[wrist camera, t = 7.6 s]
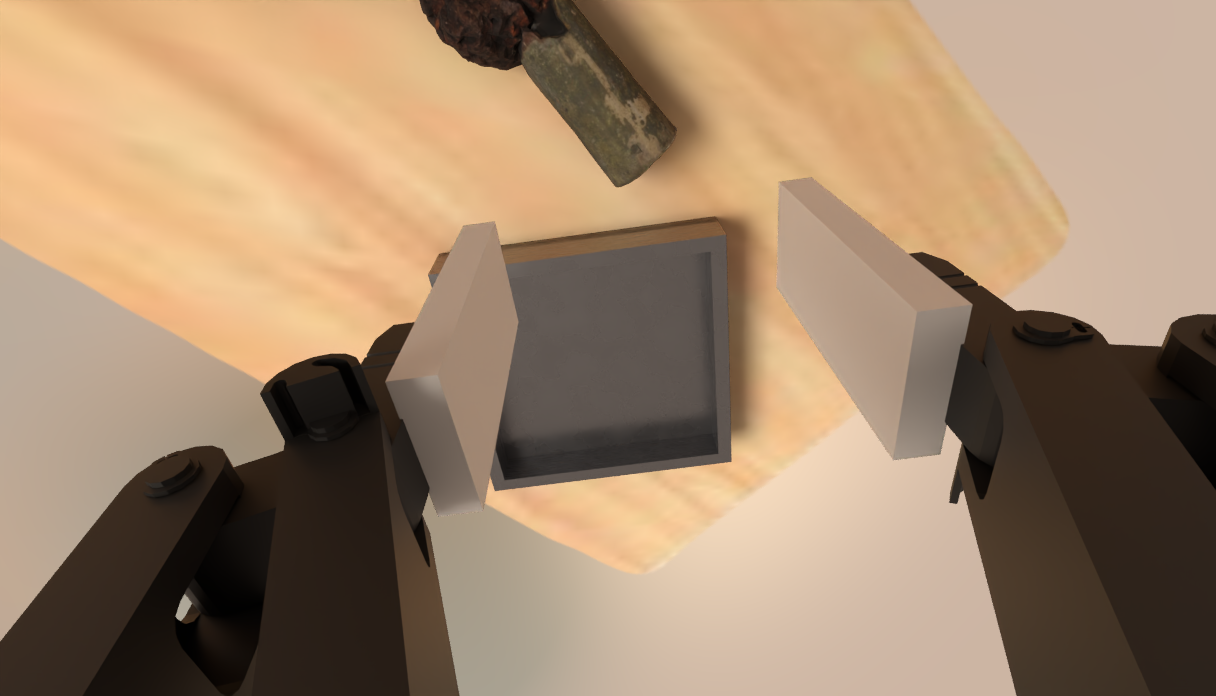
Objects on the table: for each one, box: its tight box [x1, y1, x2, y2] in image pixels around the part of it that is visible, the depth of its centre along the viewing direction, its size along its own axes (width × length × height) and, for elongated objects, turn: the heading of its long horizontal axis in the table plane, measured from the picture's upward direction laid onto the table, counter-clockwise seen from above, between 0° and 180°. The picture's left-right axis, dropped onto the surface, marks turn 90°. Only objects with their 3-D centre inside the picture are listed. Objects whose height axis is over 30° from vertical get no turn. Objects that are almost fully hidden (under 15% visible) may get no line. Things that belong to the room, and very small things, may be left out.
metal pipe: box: [420, 0, 677, 187], centre depth 31 cm, size 18×7×6 cm, turn 40°
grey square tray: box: [428, 217, 731, 491], centre depth 44 cm, size 19×19×4 cm
